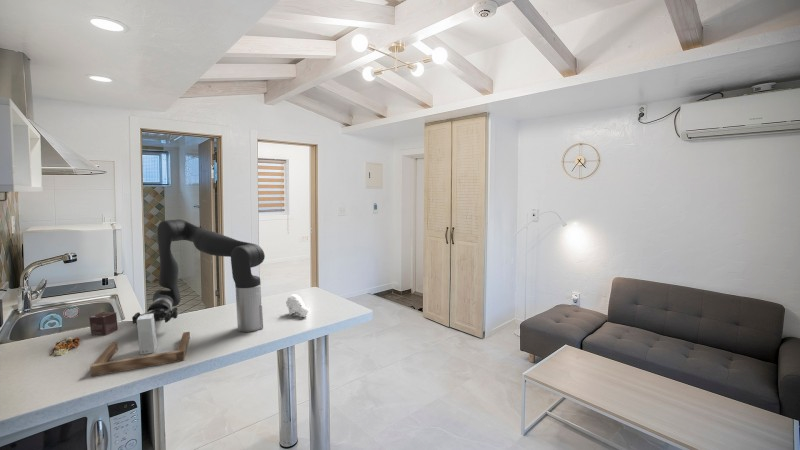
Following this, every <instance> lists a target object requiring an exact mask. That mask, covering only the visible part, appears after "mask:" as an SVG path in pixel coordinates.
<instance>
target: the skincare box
mask: <svg viewBox="0 0 800 450" xmlns="http://www.w3.org/2000/svg"><path fill="white" fill-rule="evenodd" d="M136 328H137V336H138V346H139V354H140V355H147V354H152V353H154V354H155V353H156V350H157V348H158V341H157V339H158V338H157V332H156V331H157V330H156V321H154V314H153V313H152V314H145V315H140V316H139V317H138V319H137V325H136Z"/></svg>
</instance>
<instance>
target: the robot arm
mask: <svg viewBox="0 0 800 450" xmlns="http://www.w3.org/2000/svg"><path fill="white" fill-rule="evenodd" d="M156 231H157V243H158V253H159V254H158V255H159V277H158V285H159V286H160V287H162V288H166V289H168V290H166V289H163V290H160V289H159V290H157V291H155V292H154V294H153V295H152V303H151V304H150V306H149V307H148V308H147V311H146V312H143V313H140V312H139V311H138V312H135V314H134V315H133V316H132V317H131V320H132V324H133V325H135V326H137V319H138V317H139V316H140V315H145V314H152V313H153V314H154V322H161V321H164V323H169V321H170V320H172V319H177V318H178V315H179V313H178V307H177V306H178V305H179V304H180V302H181V292H180V289H179V283H178V280H179V265H178V262H177V261H176V258H175V257H174V255H173V254H172V253H173V252H172V249H171V247H172V245H171V244H172V242H177V241H187V242H191V243H193V245H194V248H195V249H196V250H198V251H199V252H202V253H205V254H207V255H210V256H215V257H216V256H217V257H229V258H230V265H231V266H230V267H231V274H232V279H233V282H234V286H235V302H236V303H235V304H236V306H235V307H236V321H237V323H236V324H237V331H239V332H242V333H248V332H249V333H251V332H254V331H258V330H261V329H264V316H263V315H264V314H263V303H262V287H261V285H262V284H261V282H262V281H261V277H260V276H258V275H253V273H252V268H255V267H257V266H260V265H261V264H262V263H263V262H264V260H265V257H266V256H265V252H264V250H263V248H262V247H261V246H259V245H258V244H256V243H251V242H247V241H246V242H245V241H241V240H237V239H235V238H232V237H230V236H227V235H224V234H222V233H221V234H220V233H218V232H215V231H214V230H213V231H212V230H209V229H206V228H204V227H199V226H197V225H195V224H193V223H191V222H189V221H187V220H184V219H167V220H163V221H160V222H159V224H158V225H157V230H156ZM173 307H174V308H173Z"/></svg>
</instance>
